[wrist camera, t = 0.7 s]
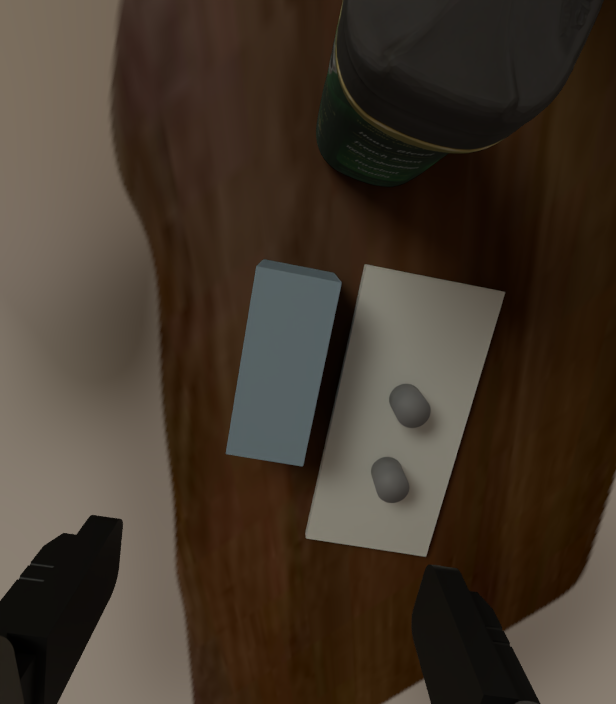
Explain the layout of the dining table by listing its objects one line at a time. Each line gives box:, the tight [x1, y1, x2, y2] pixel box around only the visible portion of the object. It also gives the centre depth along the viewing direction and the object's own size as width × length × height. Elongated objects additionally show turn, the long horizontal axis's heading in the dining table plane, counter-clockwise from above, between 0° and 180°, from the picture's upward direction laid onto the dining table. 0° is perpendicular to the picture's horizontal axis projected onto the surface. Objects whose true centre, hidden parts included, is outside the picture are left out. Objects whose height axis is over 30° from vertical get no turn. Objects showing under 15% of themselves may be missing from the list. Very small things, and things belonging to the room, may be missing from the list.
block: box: [226, 259, 342, 466], centre depth 31 cm, size 12×5×6 cm, turn 169°
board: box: [306, 264, 505, 557], centre depth 34 cm, size 22×10×3 cm, turn 169°
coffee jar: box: [316, 0, 604, 187], centre depth 21 cm, size 10×8×19 cm
